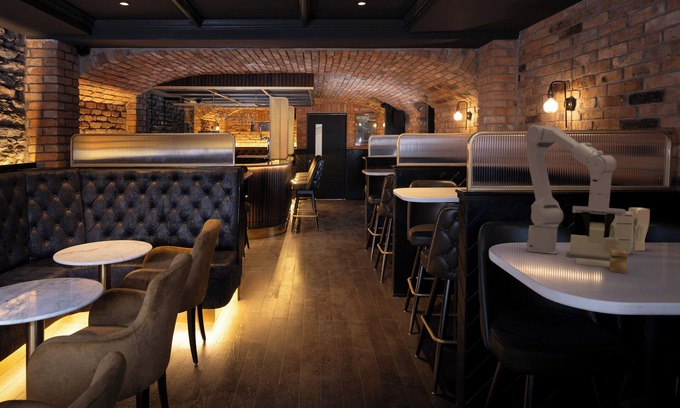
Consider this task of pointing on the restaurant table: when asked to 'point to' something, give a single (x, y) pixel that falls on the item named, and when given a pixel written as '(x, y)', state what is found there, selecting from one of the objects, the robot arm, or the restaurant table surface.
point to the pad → (593, 262)
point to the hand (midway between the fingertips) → (595, 236)
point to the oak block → (618, 261)
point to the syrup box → (622, 231)
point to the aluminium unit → (591, 248)
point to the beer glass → (639, 227)
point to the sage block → (596, 233)
